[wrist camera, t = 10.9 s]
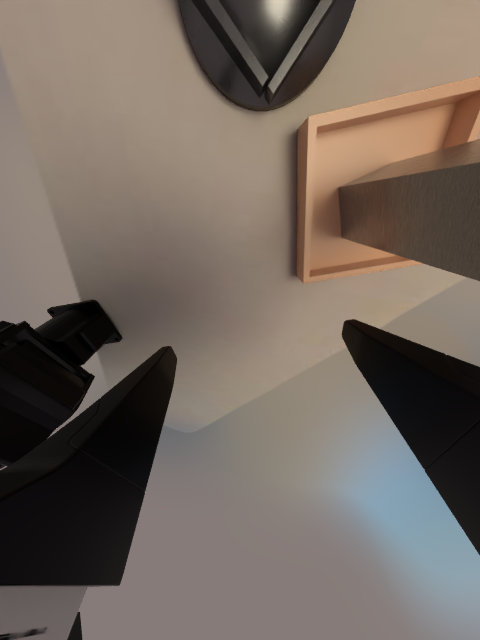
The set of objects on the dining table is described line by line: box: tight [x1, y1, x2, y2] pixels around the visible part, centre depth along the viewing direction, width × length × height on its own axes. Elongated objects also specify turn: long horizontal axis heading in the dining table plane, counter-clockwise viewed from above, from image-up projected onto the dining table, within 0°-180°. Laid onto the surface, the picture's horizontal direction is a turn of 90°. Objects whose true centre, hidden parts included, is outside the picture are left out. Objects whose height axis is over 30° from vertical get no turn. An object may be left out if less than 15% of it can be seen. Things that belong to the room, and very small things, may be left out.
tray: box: [297, 76, 480, 283], centre depth 16 cm, size 12×12×2 cm
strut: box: [338, 139, 480, 281], centre depth 11 cm, size 4×4×14 cm
